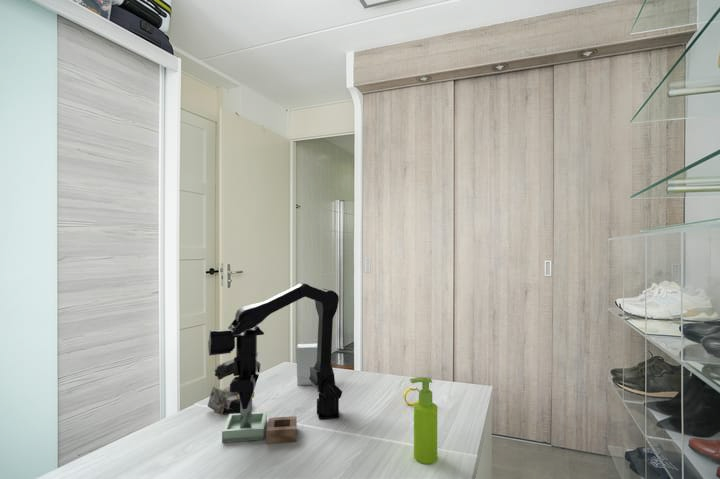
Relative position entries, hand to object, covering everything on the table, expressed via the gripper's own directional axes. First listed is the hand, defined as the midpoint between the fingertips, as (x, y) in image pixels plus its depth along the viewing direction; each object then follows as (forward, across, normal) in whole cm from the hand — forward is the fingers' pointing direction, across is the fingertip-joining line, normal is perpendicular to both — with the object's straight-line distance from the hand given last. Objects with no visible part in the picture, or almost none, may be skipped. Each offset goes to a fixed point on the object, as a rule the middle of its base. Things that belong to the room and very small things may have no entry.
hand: (246, 405), depth 112 cm
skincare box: (+8, -38, +18) cm, 43 cm away
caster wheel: (+8, -18, -7) cm, 20 cm away
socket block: (+8, +4, +10) cm, 14 cm away
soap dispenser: (+8, +21, +46) cm, 52 cm away
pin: (+6, 0, 0) cm, 6 cm away
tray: (+8, 0, 0) cm, 8 cm away
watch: (+8, -12, +53) cm, 55 cm away
